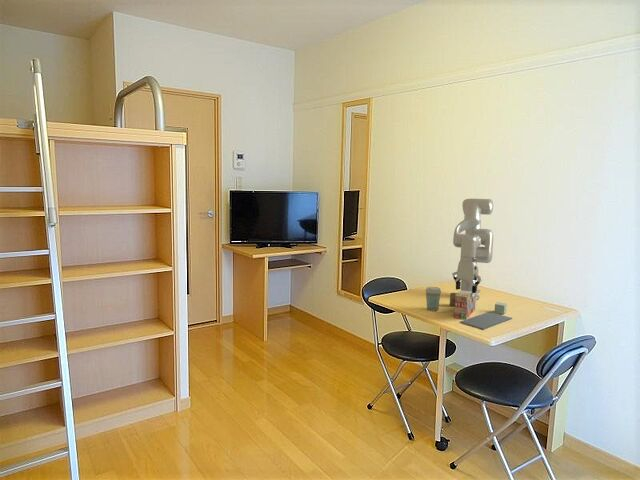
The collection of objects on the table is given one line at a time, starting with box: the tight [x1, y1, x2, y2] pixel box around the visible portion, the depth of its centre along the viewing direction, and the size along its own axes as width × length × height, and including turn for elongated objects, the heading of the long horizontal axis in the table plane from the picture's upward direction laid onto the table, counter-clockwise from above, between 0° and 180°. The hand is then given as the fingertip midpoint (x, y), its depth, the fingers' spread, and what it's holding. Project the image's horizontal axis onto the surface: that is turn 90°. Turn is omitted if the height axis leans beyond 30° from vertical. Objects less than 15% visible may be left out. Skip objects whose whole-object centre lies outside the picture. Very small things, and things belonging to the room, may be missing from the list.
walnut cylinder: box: [449, 292, 459, 308], centre depth 256 cm, size 5×5×7 cm
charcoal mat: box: [459, 311, 513, 331], centre depth 231 cm, size 27×13×1 cm, turn 129°
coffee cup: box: [425, 286, 442, 312], centre depth 248 cm, size 8×8×12 cm
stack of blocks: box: [453, 289, 476, 320], centre depth 242 cm, size 21×6×12 cm, turn 149°
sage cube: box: [493, 302, 508, 316], centre depth 245 cm, size 5×5×5 cm
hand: (465, 291), depth 240 cm, fingers open, 9 cm apart
